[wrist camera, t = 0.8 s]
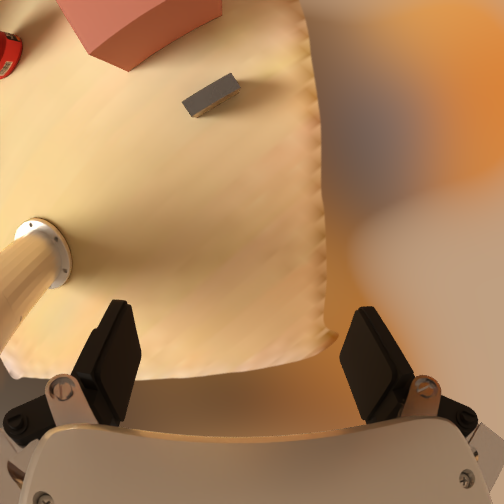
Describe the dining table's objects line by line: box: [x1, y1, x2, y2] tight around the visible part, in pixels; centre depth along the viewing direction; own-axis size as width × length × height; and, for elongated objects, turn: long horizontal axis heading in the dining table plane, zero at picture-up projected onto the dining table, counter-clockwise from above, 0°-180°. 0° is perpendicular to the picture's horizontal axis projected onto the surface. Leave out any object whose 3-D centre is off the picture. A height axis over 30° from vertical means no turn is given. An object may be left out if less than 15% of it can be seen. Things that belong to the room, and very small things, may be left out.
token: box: [182, 73, 241, 118], centre depth 29 cm, size 6×2×6 cm, turn 120°
